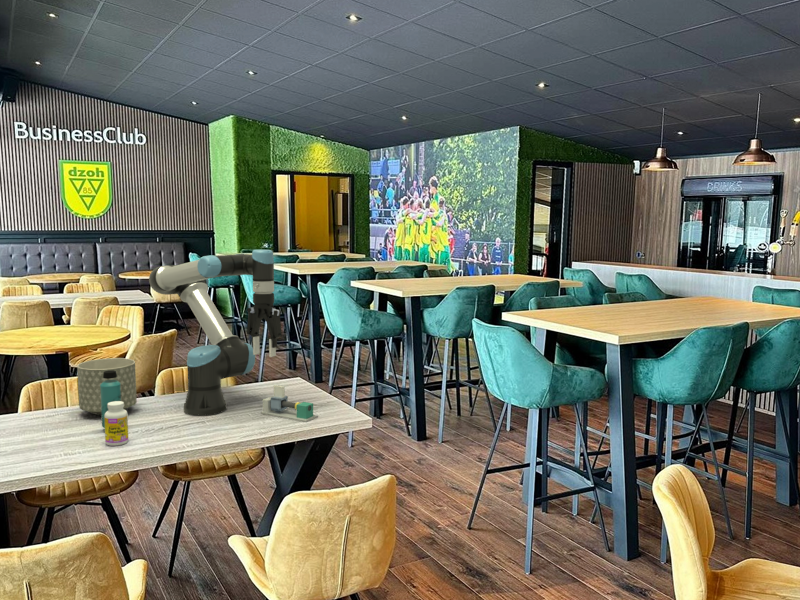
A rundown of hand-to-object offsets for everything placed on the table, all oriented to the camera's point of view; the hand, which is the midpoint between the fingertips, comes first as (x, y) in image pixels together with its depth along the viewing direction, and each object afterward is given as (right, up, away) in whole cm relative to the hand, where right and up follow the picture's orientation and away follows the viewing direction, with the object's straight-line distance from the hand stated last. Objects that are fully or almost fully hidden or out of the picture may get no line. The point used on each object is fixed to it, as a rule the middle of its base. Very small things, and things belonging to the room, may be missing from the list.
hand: (264, 355), depth 238 cm
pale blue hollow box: (+6, -20, -1) cm, 20 cm away
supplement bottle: (-39, -25, -33) cm, 57 cm away
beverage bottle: (-47, -23, -20) cm, 56 cm away
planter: (-56, -21, -1) cm, 60 cm away
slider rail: (+10, -22, -3) cm, 24 cm away
